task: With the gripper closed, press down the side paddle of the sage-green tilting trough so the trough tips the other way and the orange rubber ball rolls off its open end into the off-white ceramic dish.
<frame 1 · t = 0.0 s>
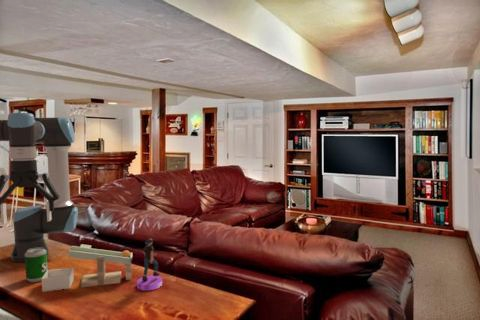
hand: (27, 222, 120), 28 cm above the table, fingers open, 13 cm apart
soda can: (37, 279, 141), on the table
figurine: (149, 285, 136), on the table
dish: (58, 285, 135), on the table
lever: (102, 251, 143), point 10 cm above the table, hinge at -13.6°, touching ball
stand: (102, 280, 139), on the table
ball: (125, 254, 141), point 9 cm above the table, tilted 14°, touching lever
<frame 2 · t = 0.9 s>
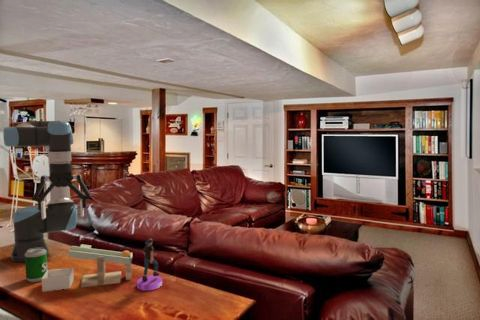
hand: (63, 217, 137), 25 cm above the table, fingers open, 13 cm apart
nothing on the table moved.
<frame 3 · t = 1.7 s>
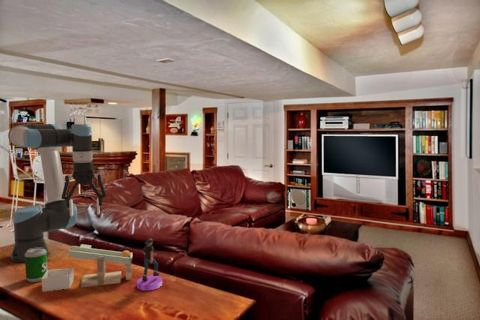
hand: (85, 214, 149), 24 cm above the table, fingers open, 10 cm apart
nothing on the table moved.
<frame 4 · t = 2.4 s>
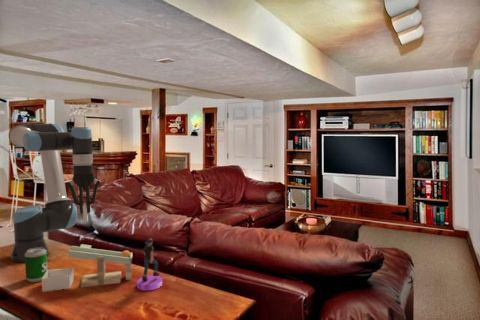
hand: (85, 220, 148), 21 cm above the table, fingers closed
nothing on the table moved.
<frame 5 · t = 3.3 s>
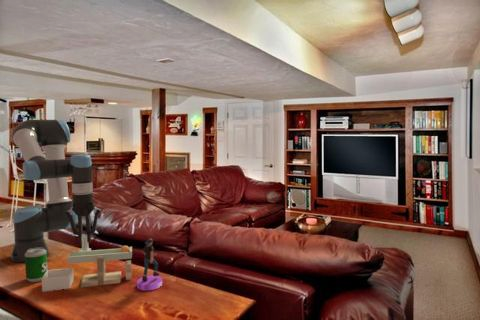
hand: (85, 250, 144), 10 cm above the table, fingers closed, pressing on lever
lever: (102, 251, 142), point 10 cm above the table, hinge at -1.0°, touching ball, gripper
ball: (125, 250, 141), point 11 cm above the table, touching lever
everything else where it was.
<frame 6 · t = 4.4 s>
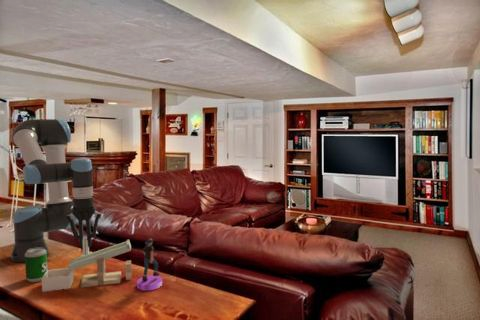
hand: (86, 254, 144), 9 cm above the table, fingers closed
lever: (101, 251, 142), point 10 cm above the table, hinge at 14.8°, touching gripper
ball: (64, 279, 135), point 2 cm above the table, tilted 13°, touching dish
everything else where it was.
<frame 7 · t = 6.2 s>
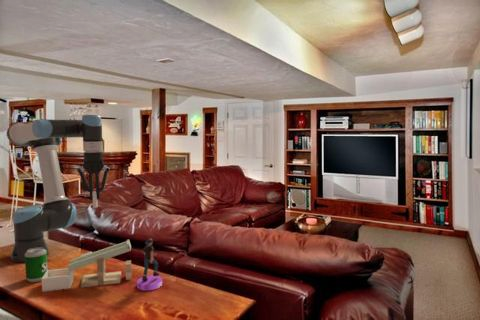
hand: (95, 206, 151), 26 cm above the table, fingers closed
lever: (101, 251, 142), point 10 cm above the table, hinge at 14.8°
ball: (60, 279, 135), point 2 cm above the table, tilted 35°, touching dish
everything else where it was.
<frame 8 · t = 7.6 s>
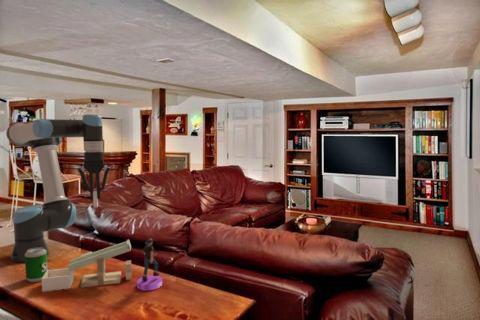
hand: (95, 206, 152), 26 cm above the table, fingers closed
ball: (56, 280, 135), point 2 cm above the table, tilted 73°, touching dish
everything else where it was.
at the end: ball inside the target area on the dish (0.5 cm from its centre), point 2.2 cm above the dish's base; lever at +15° (first picture: -14°); ball touching dish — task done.
